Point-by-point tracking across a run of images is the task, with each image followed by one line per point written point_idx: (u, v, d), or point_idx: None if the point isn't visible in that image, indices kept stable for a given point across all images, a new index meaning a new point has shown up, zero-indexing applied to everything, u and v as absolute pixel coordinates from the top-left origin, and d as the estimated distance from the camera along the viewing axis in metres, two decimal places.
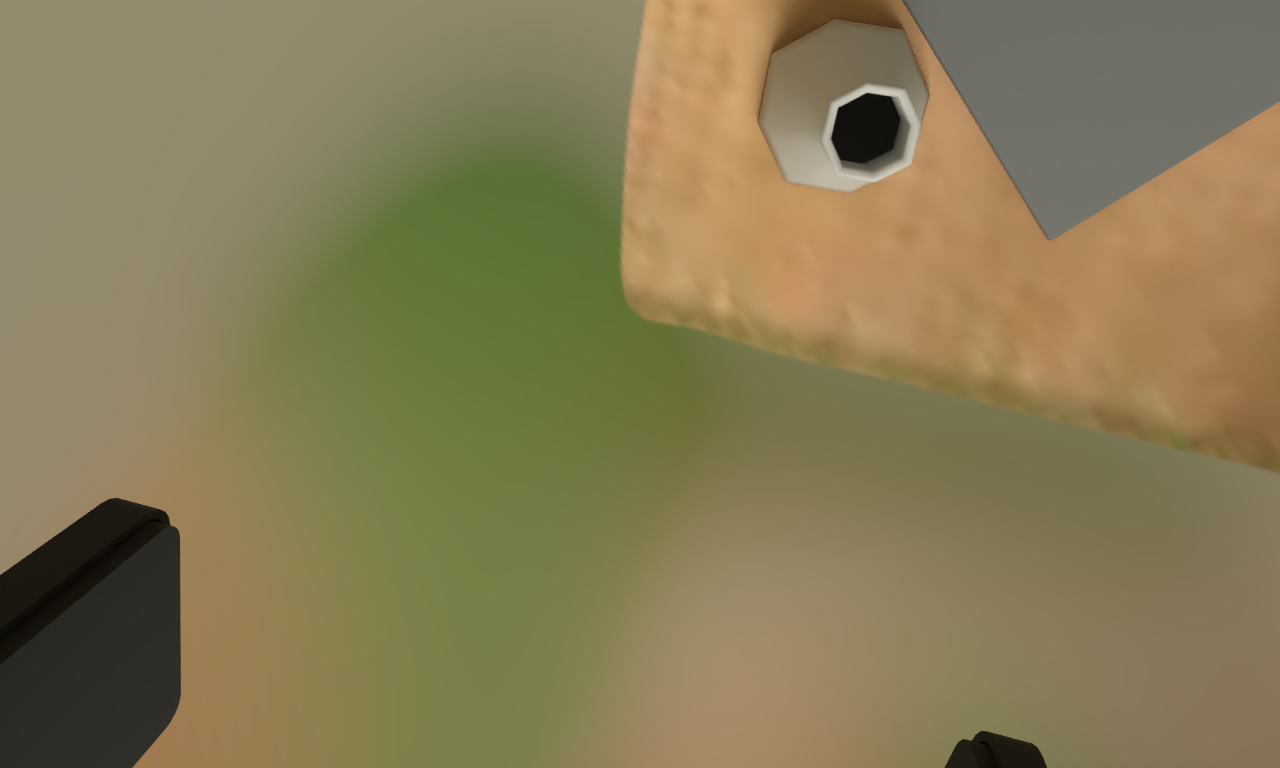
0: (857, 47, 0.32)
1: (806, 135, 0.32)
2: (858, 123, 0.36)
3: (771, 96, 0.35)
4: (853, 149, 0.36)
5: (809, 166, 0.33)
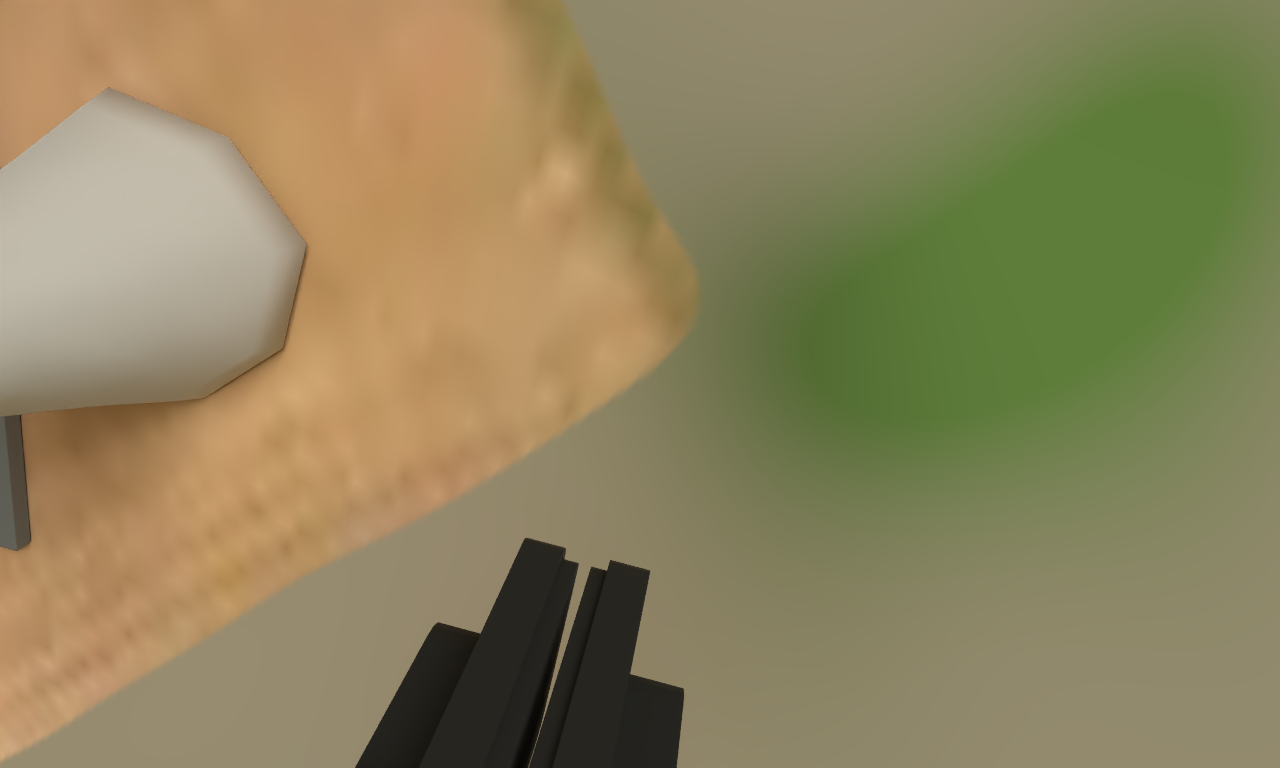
0: None
1: (77, 367, 0.16)
2: None
3: (215, 374, 0.20)
4: None
5: (148, 295, 0.16)
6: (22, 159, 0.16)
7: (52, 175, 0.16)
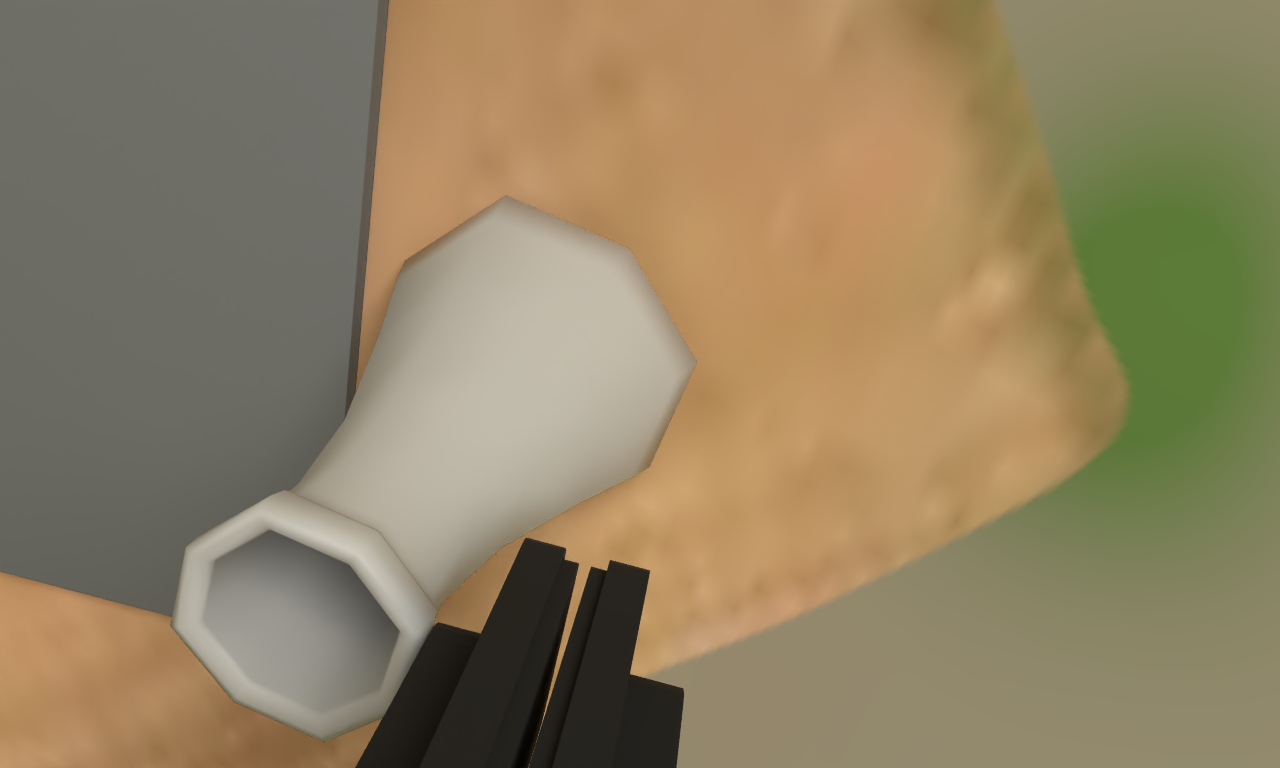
0: None
1: (534, 518, 0.14)
2: None
3: None
4: None
5: (596, 435, 0.15)
6: (465, 285, 0.15)
7: (496, 302, 0.15)
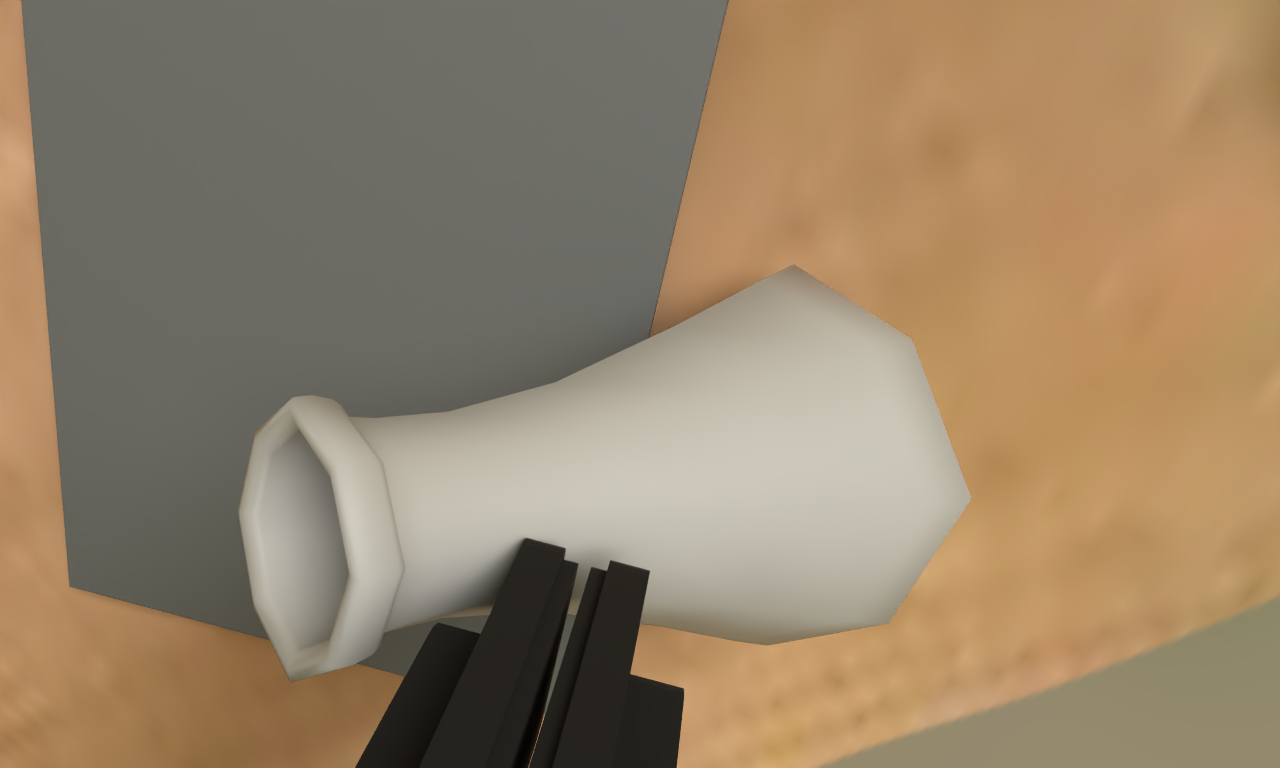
0: None
1: (657, 585, 0.12)
2: None
3: (795, 630, 0.15)
4: None
5: (766, 519, 0.12)
6: (687, 324, 0.14)
7: (711, 347, 0.14)
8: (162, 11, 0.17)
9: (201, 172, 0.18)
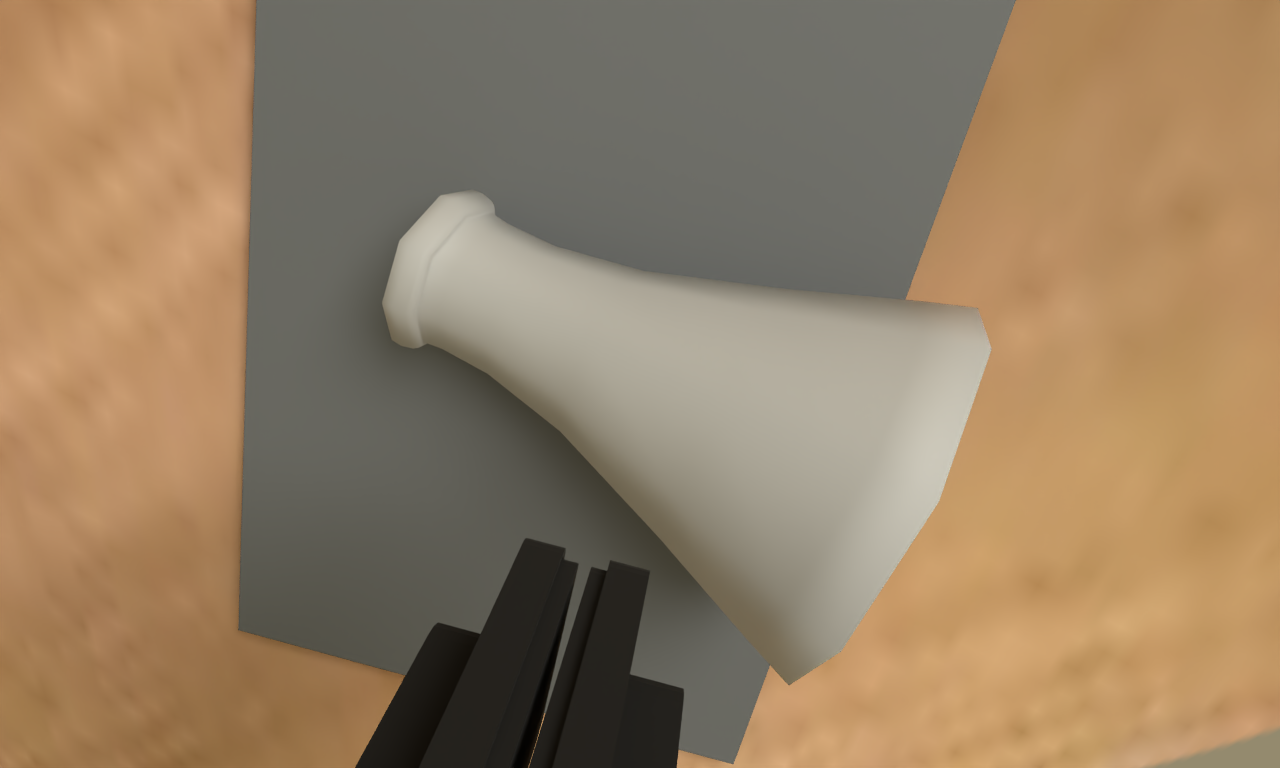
0: None
1: (603, 416, 0.14)
2: None
3: (766, 619, 0.14)
4: None
5: (693, 393, 0.13)
6: (795, 291, 0.16)
7: (789, 301, 0.15)
8: (400, 69, 0.17)
9: None
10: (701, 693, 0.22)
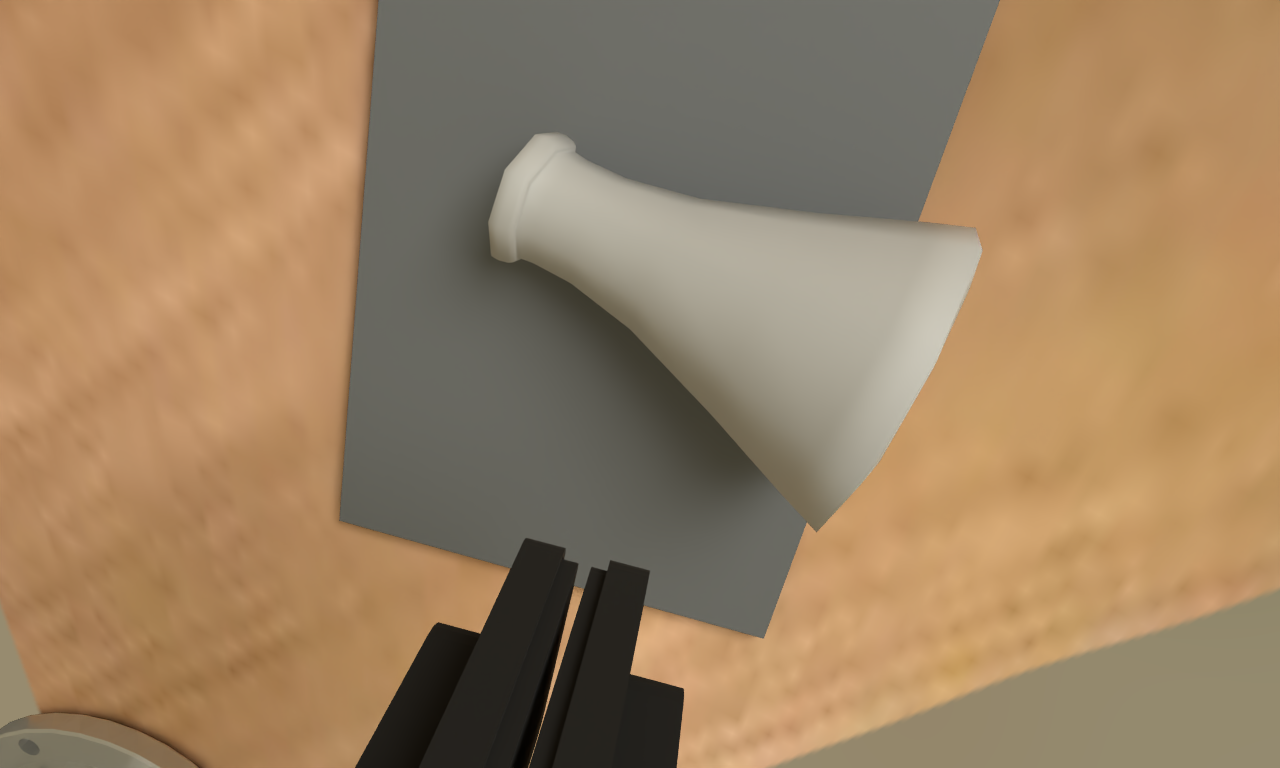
0: None
1: (670, 310, 0.18)
2: None
3: (800, 471, 0.17)
4: None
5: (744, 286, 0.17)
6: (825, 214, 0.19)
7: (820, 220, 0.18)
8: (498, 31, 0.20)
9: None
10: (737, 574, 0.25)
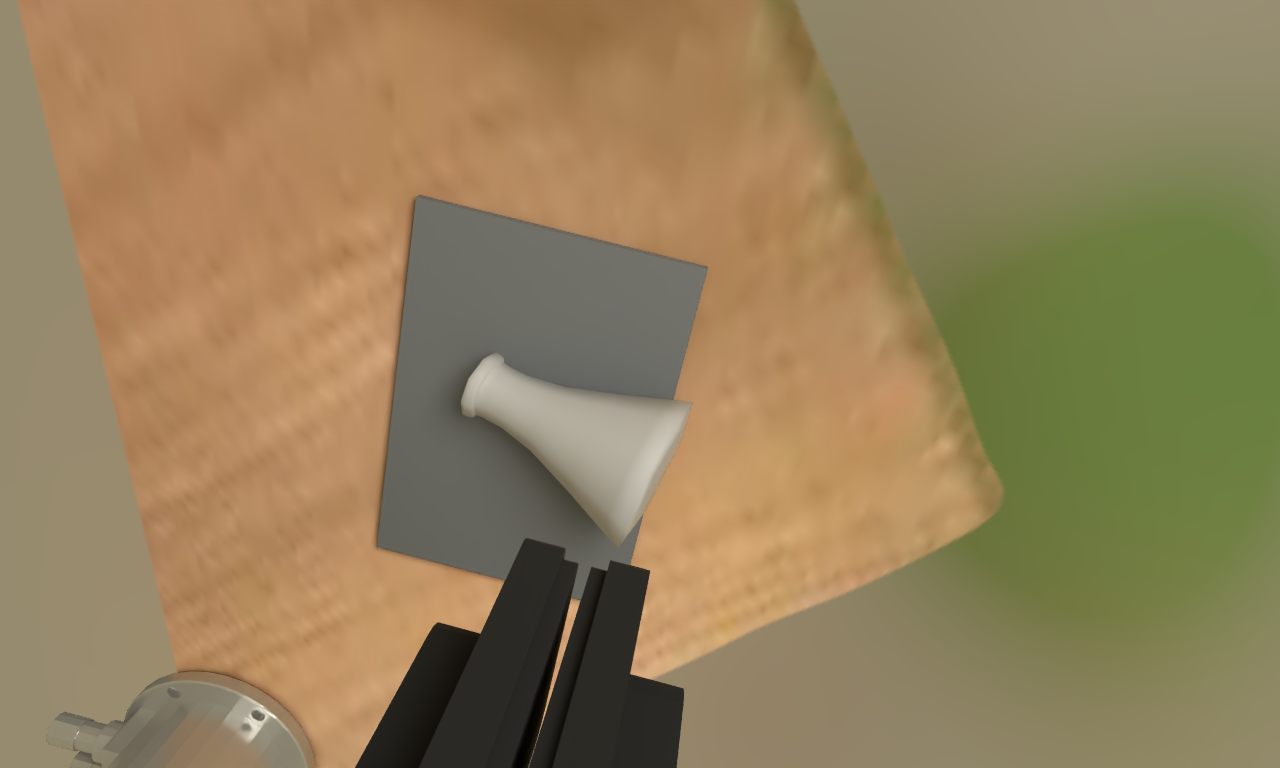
0: None
1: (545, 445, 0.38)
2: (668, 458, 0.39)
3: (605, 520, 0.38)
4: (672, 447, 0.38)
5: (576, 438, 0.37)
6: (622, 395, 0.39)
7: (618, 400, 0.39)
8: (465, 302, 0.40)
9: (473, 363, 0.42)
10: None
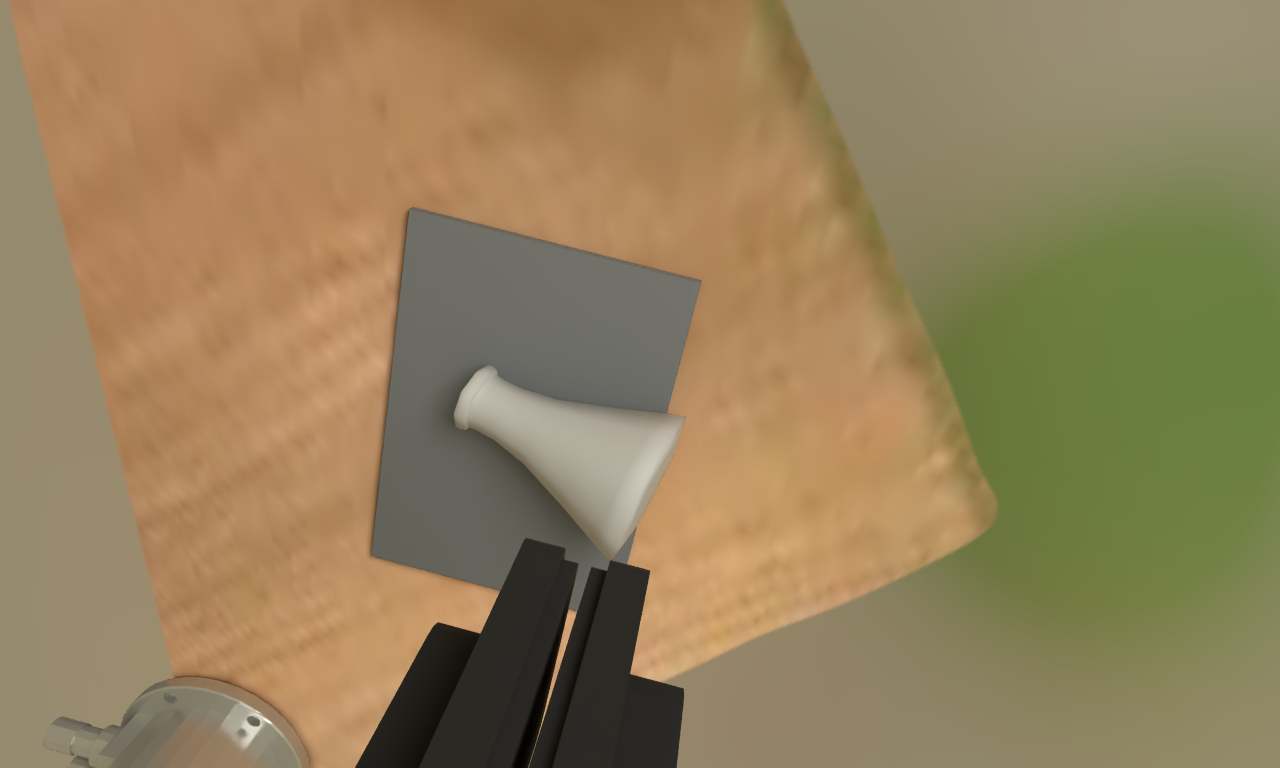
0: None
1: (538, 459, 0.38)
2: (661, 472, 0.39)
3: (597, 534, 0.38)
4: (665, 461, 0.38)
5: (568, 452, 0.37)
6: (615, 409, 0.39)
7: (611, 414, 0.39)
8: (459, 314, 0.40)
9: (466, 375, 0.42)
10: None
